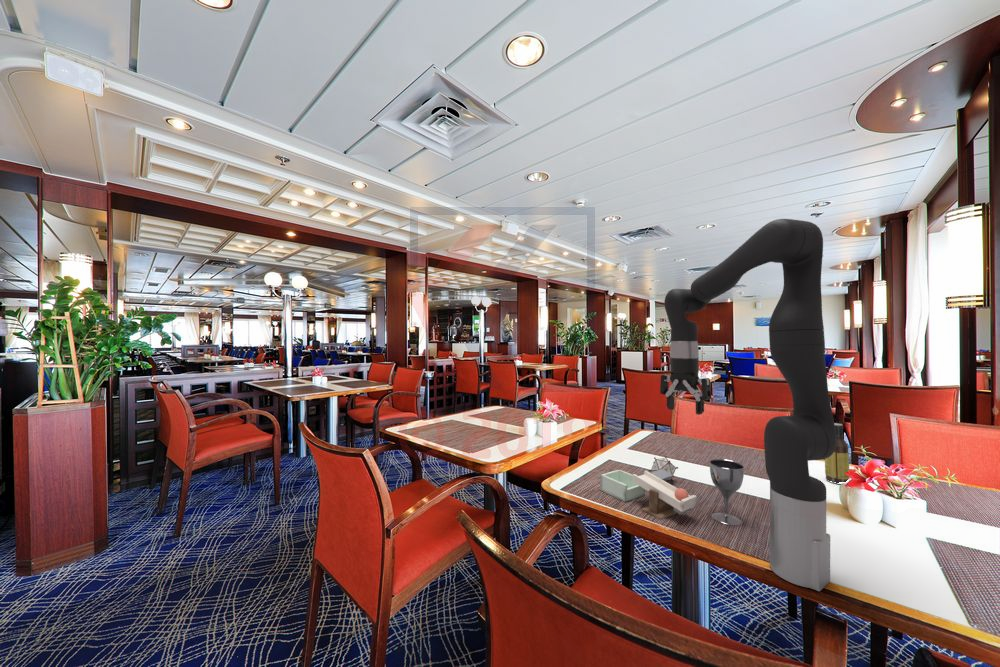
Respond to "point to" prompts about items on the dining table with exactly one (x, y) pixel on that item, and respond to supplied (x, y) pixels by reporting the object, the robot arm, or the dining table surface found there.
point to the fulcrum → (658, 506)
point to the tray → (620, 485)
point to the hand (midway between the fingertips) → (684, 411)
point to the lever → (664, 489)
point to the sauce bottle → (838, 459)
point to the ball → (681, 494)
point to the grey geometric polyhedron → (663, 466)
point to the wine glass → (726, 485)
